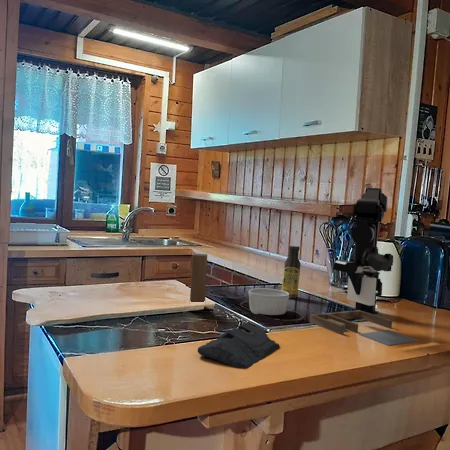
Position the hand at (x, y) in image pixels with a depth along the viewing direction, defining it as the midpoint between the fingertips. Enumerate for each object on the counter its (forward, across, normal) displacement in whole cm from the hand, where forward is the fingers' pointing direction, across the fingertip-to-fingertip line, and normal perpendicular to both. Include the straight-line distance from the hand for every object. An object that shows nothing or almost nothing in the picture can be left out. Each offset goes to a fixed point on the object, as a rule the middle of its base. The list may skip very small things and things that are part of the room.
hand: (360, 294), depth 139 cm
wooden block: (+10, -37, +34) cm, 51 cm away
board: (+2, 0, 0) cm, 2 cm away
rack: (+10, -3, 0) cm, 10 cm away
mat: (+10, -2, -13) cm, 16 cm away
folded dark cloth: (+11, -46, -6) cm, 48 cm away
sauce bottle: (+10, +6, +41) cm, 43 cm away
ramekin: (+10, -17, +23) cm, 30 cm away
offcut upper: (+9, -10, 0) cm, 13 cm away
